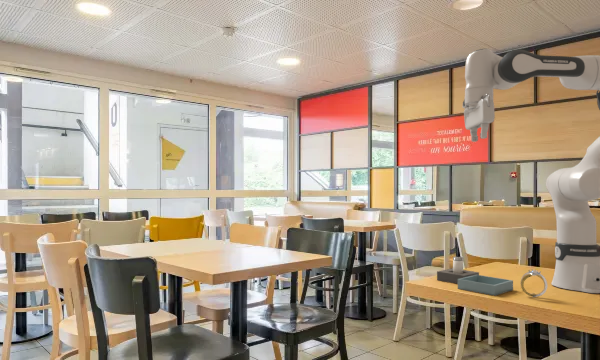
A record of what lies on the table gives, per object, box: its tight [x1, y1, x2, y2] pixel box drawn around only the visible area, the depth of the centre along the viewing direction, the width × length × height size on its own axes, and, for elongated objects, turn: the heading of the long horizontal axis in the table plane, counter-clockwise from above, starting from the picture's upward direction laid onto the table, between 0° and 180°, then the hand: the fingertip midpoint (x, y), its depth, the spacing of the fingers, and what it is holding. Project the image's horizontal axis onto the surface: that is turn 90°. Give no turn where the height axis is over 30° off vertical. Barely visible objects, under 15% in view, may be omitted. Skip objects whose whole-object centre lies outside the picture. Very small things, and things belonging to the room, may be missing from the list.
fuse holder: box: [436, 267, 480, 285], centre depth 155 cm, size 10×10×3 cm
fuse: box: [452, 256, 464, 274], centre depth 155 cm, size 3×3×8 cm
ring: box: [520, 269, 548, 298], centre depth 131 cm, size 7×3×8 cm, turn 68°
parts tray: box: [457, 274, 514, 297], centre depth 141 cm, size 12×12×3 cm
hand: (479, 140), depth 149 cm, fingers open, 8 cm apart
